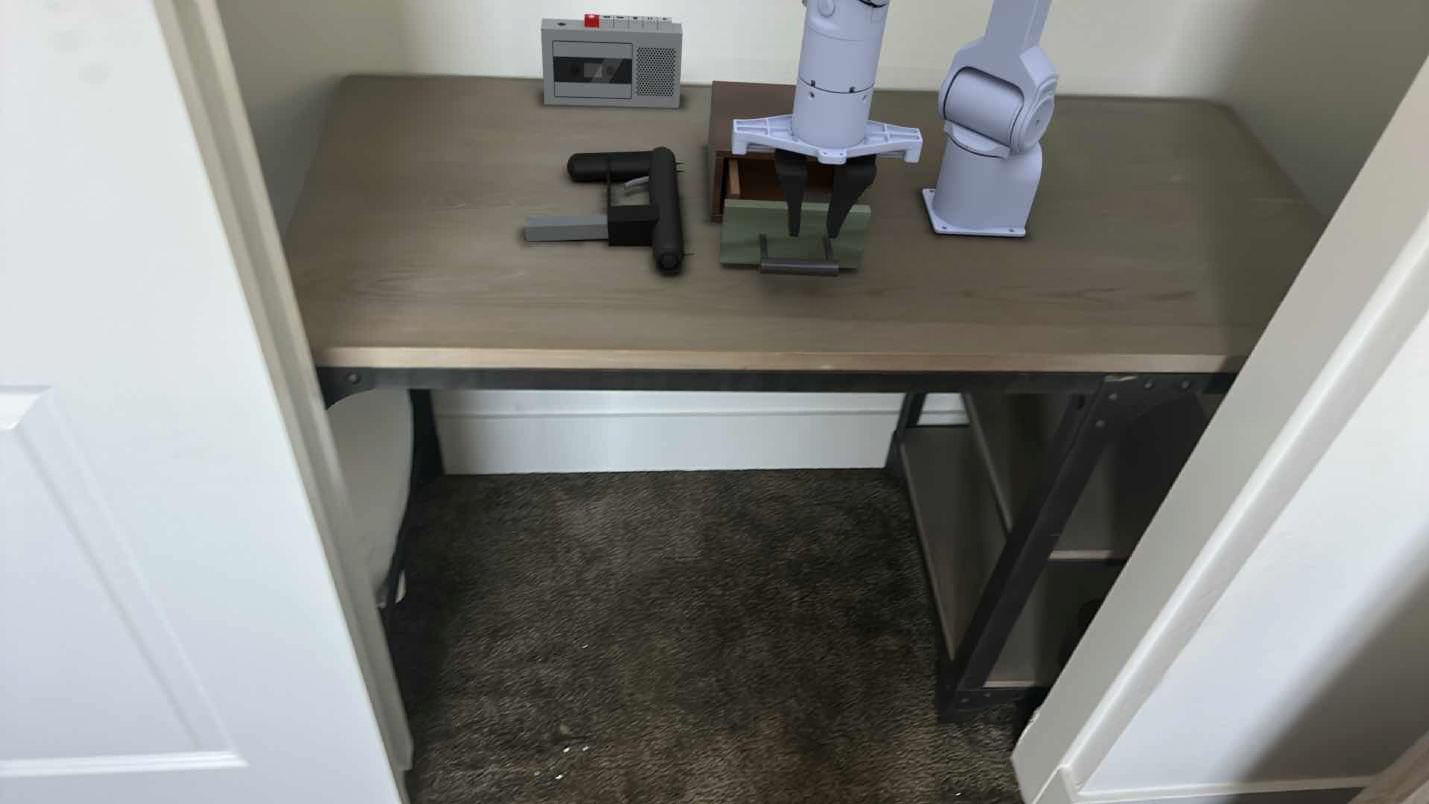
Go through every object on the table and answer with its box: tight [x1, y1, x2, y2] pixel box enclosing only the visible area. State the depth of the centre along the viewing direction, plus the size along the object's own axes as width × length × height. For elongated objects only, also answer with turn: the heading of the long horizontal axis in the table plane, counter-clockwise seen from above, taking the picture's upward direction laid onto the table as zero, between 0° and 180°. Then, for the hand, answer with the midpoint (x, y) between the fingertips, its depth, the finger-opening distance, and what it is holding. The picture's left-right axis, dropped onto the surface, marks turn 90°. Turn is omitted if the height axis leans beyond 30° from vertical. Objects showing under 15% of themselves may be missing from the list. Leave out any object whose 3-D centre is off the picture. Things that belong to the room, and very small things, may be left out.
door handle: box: [524, 146, 695, 275], centre depth 103 cm, size 3×20×16 cm
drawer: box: [719, 157, 872, 278], centre depth 99 cm, size 19×13×6 cm
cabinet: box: [707, 80, 819, 223], centre depth 107 cm, size 15×15×8 cm
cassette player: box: [540, 13, 684, 109], centre depth 118 cm, size 16×3×10 cm, turn 94°
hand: (812, 231), depth 86 cm, fingers open, 3 cm apart
